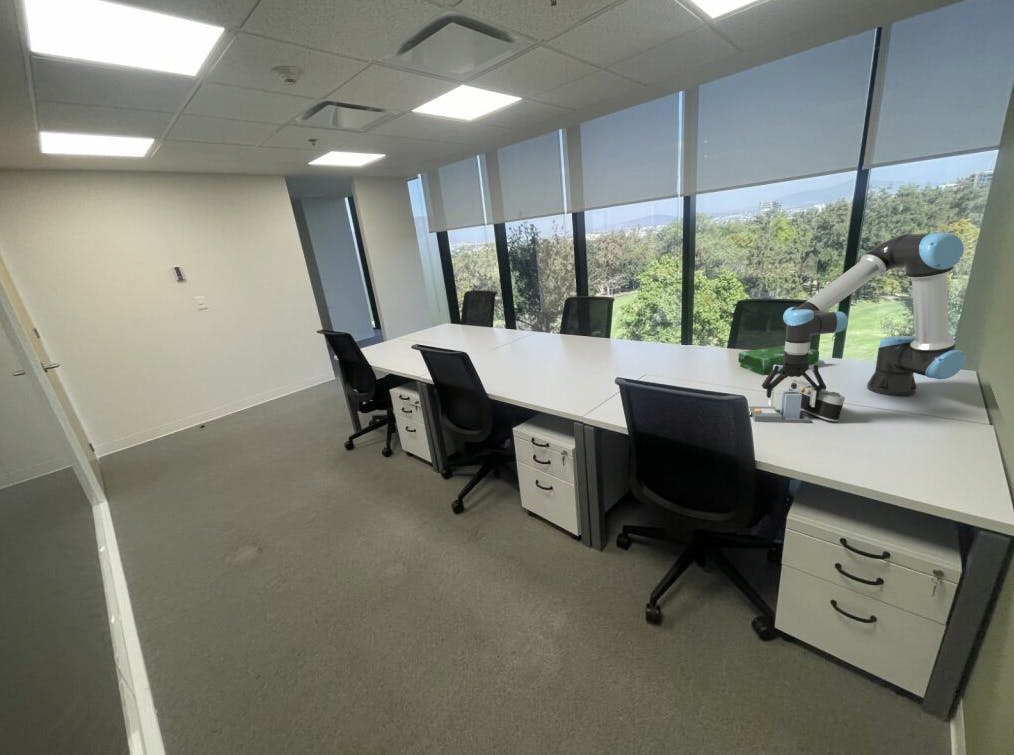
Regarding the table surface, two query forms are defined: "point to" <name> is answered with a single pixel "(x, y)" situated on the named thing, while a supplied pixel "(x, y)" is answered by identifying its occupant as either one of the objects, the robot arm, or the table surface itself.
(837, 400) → the camera
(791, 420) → the grey rectangular base
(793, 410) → the block
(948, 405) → the table surface
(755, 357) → the box
